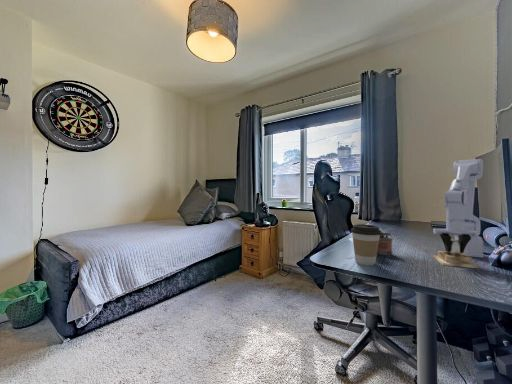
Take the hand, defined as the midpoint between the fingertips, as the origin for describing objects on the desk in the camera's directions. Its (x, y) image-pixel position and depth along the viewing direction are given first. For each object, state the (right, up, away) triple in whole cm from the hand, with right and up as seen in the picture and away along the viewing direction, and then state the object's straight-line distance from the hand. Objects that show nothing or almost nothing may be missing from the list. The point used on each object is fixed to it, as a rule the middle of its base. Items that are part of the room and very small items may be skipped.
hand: (454, 252), depth 98 cm
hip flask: (-23, -4, +12) cm, 27 cm away
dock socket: (0, -4, 0) cm, 4 cm away
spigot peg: (0, -3, 0) cm, 3 cm away
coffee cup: (-38, -4, -2) cm, 38 cm away
